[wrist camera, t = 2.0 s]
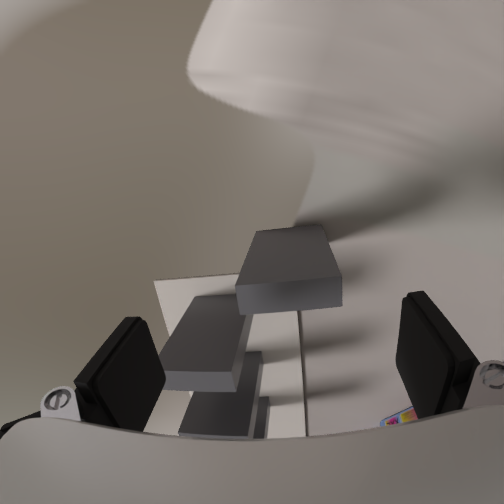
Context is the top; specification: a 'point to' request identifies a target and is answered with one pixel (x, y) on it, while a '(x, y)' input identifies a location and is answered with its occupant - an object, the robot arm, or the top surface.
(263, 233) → the domino
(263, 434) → the domino
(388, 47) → the top surface
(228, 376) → the domino
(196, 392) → the domino
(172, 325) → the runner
